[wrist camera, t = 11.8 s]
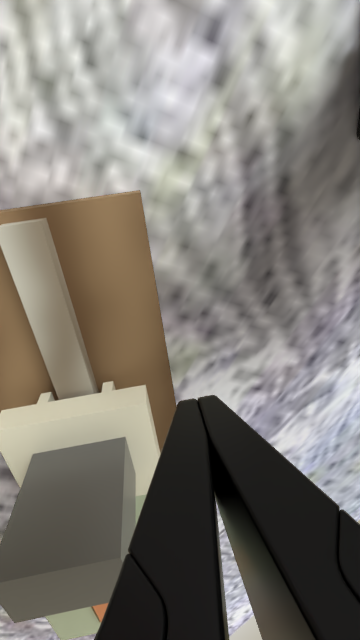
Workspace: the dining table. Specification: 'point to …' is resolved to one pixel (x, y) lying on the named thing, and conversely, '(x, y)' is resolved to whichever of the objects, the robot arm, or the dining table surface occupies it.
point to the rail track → (81, 304)
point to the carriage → (73, 497)
